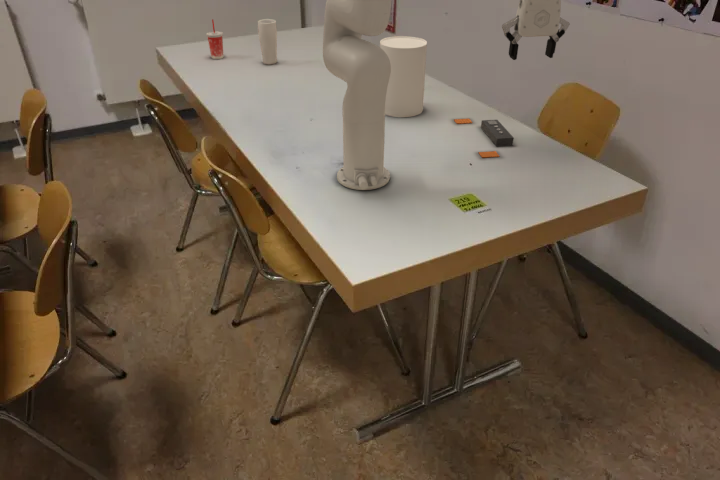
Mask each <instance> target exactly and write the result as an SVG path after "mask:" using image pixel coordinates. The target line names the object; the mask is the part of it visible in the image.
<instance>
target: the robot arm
mask: <svg viewBox="0 0 720 480" xmlns="http://www.w3.org/2000/svg"><path fill="white" fill-rule="evenodd" d="M392 1H393V0H326V1H325V7H324V17H323V18H324V19H323V37H322V59H323V63H324V66H325V68H326V70H327V71H329V73H330V74H332V75H333V76H335V77H336V78H338V79H340V80H342V81H344V82H345V83H346V86H347V87H346V91H345V94H344V97H343V100H342V107H341V108H342V113H341V114H342V151H343V152H342V154H343V156H342V158H343V160H342V161H343V163H342V164H343V166H342V167H341V168H339V169H338V171H337V173H336V179H337V182H338V183H339V184H340V185H341V186H343V187H344V188H345V187H346V188H348V189H351V190H355V191H356V190H357V191H370V190H376V189H380V188H382V187H384V186H386V185H387V184H388V183H389V182H390V179H391V173H390V170H389V169H387V168H386V167H385V138H386V137H385V135H386V134H385V133H386V132H385V131H386V115H385V102H386V93H387V87H388V83H389V78H390V73H391V64H390V60H389V58H388V56H387V54H386V53H385V52H384V50H382V49H381V48H380V45H377V44H375V43H372V42H371V41H368V40H366V39H363V38H362V35H363V36H365V37H377V36H380V35H381V34H383V33H384V32H385V31H386V29H387V28H388V25H389V23H390V17H391V9H392ZM561 10H562V0H519V2H518V5H517V9H516V13H515V17H513V18H512V19H509V20H508V21H506V22H504V23H503V24H502V25H501V28H502V31H503V34H504V37H505V38H506V39H507V40H508V41H509V48H508V56H509V58H510V59H512V61H516V60H517V59H518V52H519V44H518V42H519V41H520V40H521V39H522V38H529V37H530V38H533V37H537V38H538V37H548V39H547V41H546V45H545V52H544V55H545V56H546V57H548V58H549V59H553V58H554V54H555V52H556V48H557V47H556V46H557V43H558V42H559V41H560V39H561V38H562V37H563V36H564V35H565V33H566V31H567V30H568V28H569V27H570V25H571V24H570V22H569V21H568V20H566V19H564V18H563V17H561V12H562V11H561ZM512 27H513V30H514V32H512V33H511V30H510V29H511V28H512Z"/></svg>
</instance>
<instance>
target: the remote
mask: <svg viewBox="0 0 720 480" xmlns="http://www.w3.org/2000/svg"><path fill="white" fill-rule="evenodd" d="M480 128H481V130H482V131H483V132H484V133H485V134H486V136H487V137H488V138H489V140H490V141H491V142H492V143H493V144H494V145H495V147H506V146H507V147H508V146H513V145H514V140H515V138H514V136H513V135H512V134H511V133H510V131H508V130H507V128H505V127H504V125H503V124H502V123H501V122H500V121H499V120H498V119H483V120H481V122H480Z"/></svg>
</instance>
